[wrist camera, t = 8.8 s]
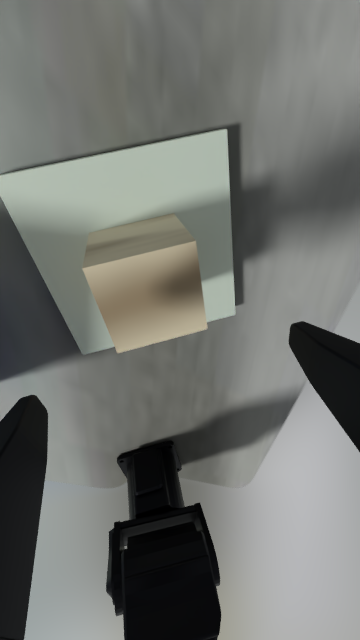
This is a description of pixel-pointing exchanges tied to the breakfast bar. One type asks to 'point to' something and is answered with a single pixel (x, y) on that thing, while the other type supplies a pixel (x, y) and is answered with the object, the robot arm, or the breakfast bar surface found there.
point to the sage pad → (124, 218)
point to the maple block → (146, 281)
